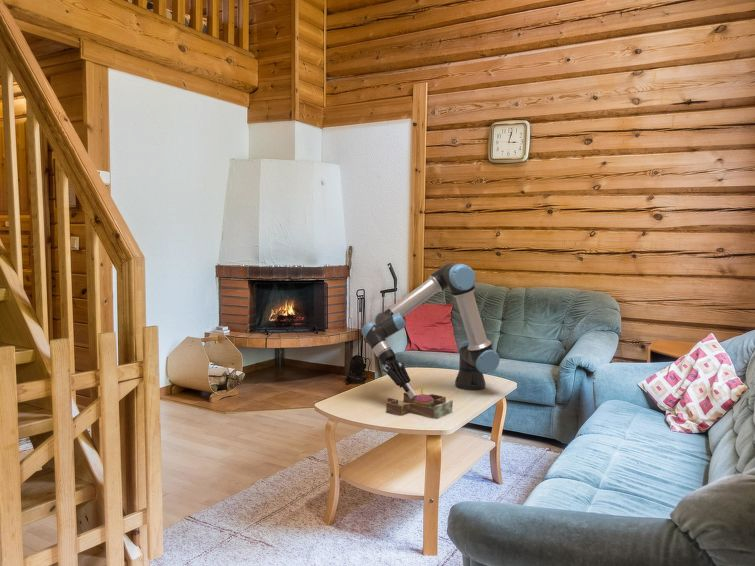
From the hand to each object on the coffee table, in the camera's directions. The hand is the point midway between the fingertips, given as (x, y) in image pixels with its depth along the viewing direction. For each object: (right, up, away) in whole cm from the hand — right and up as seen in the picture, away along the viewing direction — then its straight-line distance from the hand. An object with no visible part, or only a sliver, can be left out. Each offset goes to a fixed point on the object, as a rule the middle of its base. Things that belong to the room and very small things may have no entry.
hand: (413, 397), depth 258 cm
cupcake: (+4, -6, -2) cm, 7 cm away
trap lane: (+2, -5, 0) cm, 6 cm away
